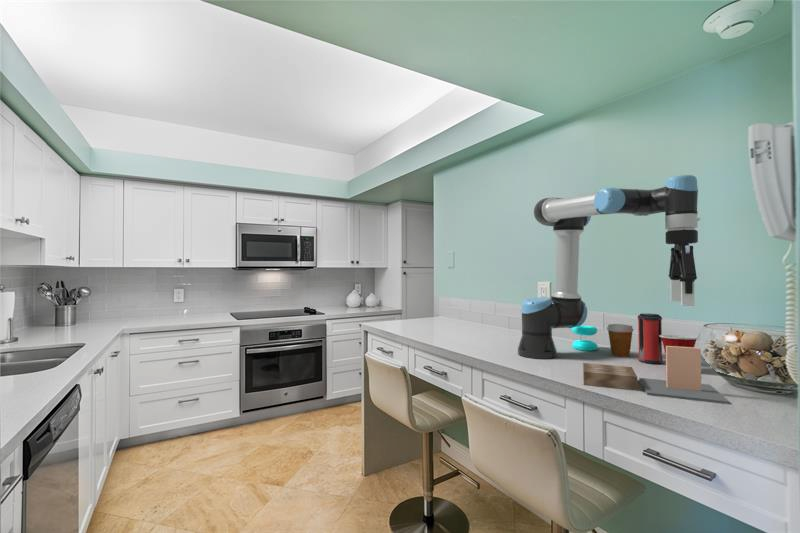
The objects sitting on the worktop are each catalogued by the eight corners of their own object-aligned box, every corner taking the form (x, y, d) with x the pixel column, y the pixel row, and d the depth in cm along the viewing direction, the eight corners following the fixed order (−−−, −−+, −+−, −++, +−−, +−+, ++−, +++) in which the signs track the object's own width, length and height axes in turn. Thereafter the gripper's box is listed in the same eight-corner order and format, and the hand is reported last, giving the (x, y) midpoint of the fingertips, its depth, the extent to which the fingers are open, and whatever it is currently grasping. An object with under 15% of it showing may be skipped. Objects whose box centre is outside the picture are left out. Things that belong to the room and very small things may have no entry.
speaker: (633, 359, 146) (632, 313, 146) (652, 359, 147) (651, 312, 147) (647, 364, 139) (647, 315, 139) (667, 364, 139) (667, 315, 139)
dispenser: (583, 384, 116) (583, 370, 116) (583, 374, 126) (583, 361, 126) (637, 390, 110) (637, 375, 110) (632, 379, 120) (631, 366, 120)
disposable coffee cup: (626, 352, 159) (626, 324, 159) (638, 357, 150) (638, 327, 150) (603, 352, 160) (602, 323, 160) (613, 357, 150) (613, 327, 151)
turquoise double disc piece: (590, 324, 172) (601, 328, 162) (590, 346, 172) (602, 351, 162) (568, 324, 172) (578, 328, 162) (568, 346, 172) (578, 351, 162)
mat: (647, 394, 106) (647, 392, 106) (639, 379, 120) (639, 377, 120) (729, 404, 98) (729, 401, 98) (709, 386, 113) (709, 384, 113)
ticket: (667, 387, 110) (666, 346, 110) (666, 386, 111) (665, 345, 111) (701, 391, 107) (700, 348, 107) (700, 389, 108) (699, 347, 108)
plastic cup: (689, 366, 135) (688, 333, 135) (704, 375, 125) (704, 338, 125) (654, 365, 138) (654, 332, 138) (666, 372, 128) (666, 337, 128)
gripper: (711, 225, 96) (711, 308, 97) (686, 232, 119) (686, 300, 119) (675, 226, 100) (675, 307, 100) (657, 233, 122) (658, 299, 122)
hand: (681, 303), depth 109 cm, fingers open, 13 cm apart
